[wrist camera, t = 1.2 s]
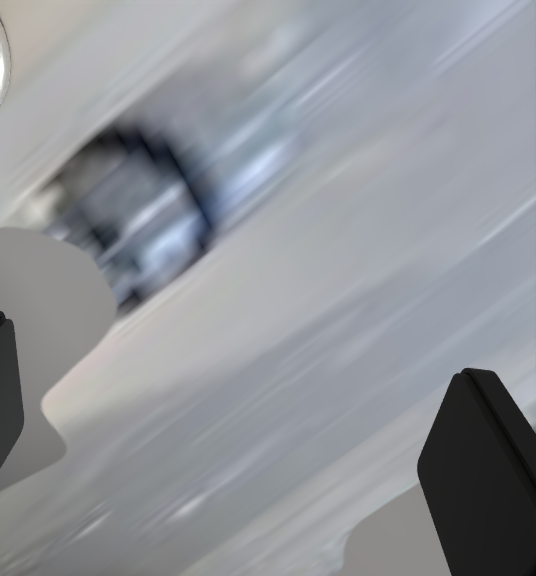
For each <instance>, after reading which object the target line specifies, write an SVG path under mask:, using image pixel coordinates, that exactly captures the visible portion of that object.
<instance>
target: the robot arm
mask: <svg viewBox="0 0 536 576" xmlns="http://www.w3.org/2000/svg"><path fill="white" fill-rule="evenodd" d="M10 69H11V62H10V52H9V46H8V42H7V39H6V35H5V31H4V28H3V26H2V24H1V22H0V104H1V102H2V101H3V99H4V97H5V95H6V91H7V88H8V85H9V81H10ZM23 425H24V412H23V404H22V395H21V386H20V377H19V368H18V359H17V350H16V341H15V332H14V325H13V322H12V320H10V319H6V318H5V315H4V313H3V312H1V311H0V468H1V466H2V465H3V463H4V461H5V460H6V458H7V456H8V455H9V453H10V451H11V449H12V448H13V446H14V445H15V443H16V441H17V439H18V438H19V436H20V434H21V432H22V429H23ZM417 472H418V477H419V480H420V483H421V486H422V489H423V492H424V495H425V498H426V501H427V504H428V507H429V510H430V513H431V516H432V519H433V522H434V525H435V528H436V531H437V534H438V536H439V540H440V543H441V546H442V549H443V551H444V554H445V557H446V560H447V563H448V566H449V569H450V572H451V575H452V576H536V433H535V432H534V430H533V429H532V427H531V426H530V424H529V423H528V421H527V420H526V418H525V417H524V415H523V414H522V412H521V411H520V409H519V408H518V406H517V405H516V403H515V402H514V400H513V399H512V397H511V395H510V394H509V392H508V391H507V389H506V388H505V386H504V385H503V383H502V382H501V380H500V379H499V377H498V376H497V374H496V373H495V372H493V371H490V370H482V369H474V368H464V369H463V370H462V371H461V373H457V374H455V375H454V376H453V378H452V380H451V382H450V385H449V387H448V389H447V392H446V394H445V397H444V399H443V401H442V404H441V406H440V409H439V411H438V413H437V416H436V418H435V421H434V423H433V426H432V428H431V430H430V433H429V435H428V438H427V440H426V442H425V445H424V447H423V450H422V452H421V454H420V457H419V460H418V464H417Z"/></svg>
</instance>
